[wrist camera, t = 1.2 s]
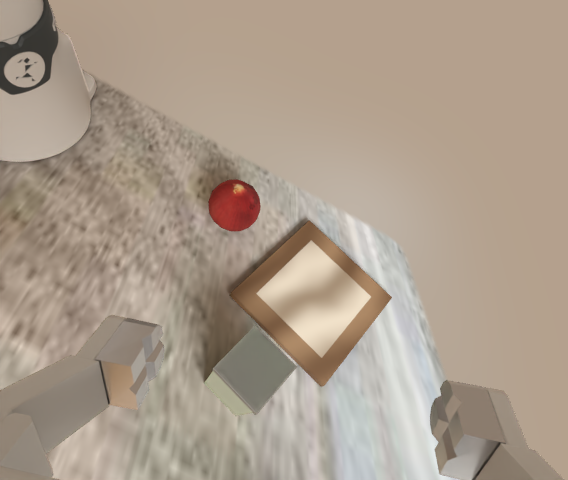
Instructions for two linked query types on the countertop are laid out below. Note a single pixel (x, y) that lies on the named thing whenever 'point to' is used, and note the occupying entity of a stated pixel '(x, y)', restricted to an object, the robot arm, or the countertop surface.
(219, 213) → the onion
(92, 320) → the countertop surface
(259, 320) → the board
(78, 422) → the robot arm
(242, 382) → the tea tin
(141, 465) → the countertop surface
